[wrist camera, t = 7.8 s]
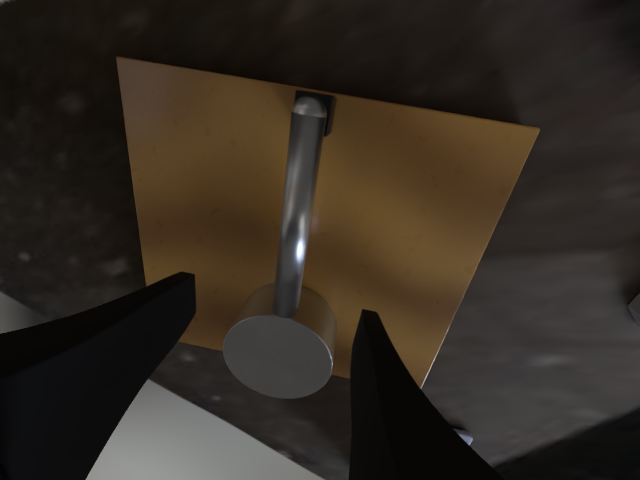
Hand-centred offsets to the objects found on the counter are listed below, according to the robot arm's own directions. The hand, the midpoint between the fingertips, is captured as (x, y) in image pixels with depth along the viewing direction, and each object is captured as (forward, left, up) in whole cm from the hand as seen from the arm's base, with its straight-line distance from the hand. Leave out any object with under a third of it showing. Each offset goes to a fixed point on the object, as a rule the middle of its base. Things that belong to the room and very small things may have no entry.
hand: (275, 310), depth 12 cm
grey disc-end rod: (0, 0, -5) cm, 5 cm away
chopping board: (0, 0, -7) cm, 7 cm away
